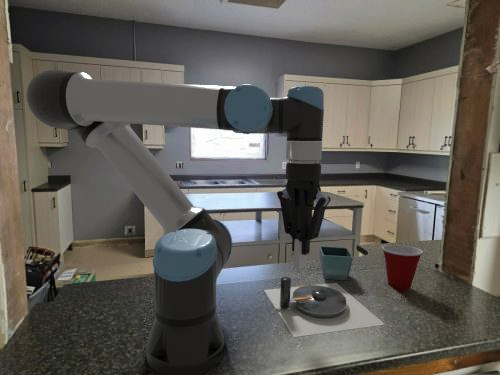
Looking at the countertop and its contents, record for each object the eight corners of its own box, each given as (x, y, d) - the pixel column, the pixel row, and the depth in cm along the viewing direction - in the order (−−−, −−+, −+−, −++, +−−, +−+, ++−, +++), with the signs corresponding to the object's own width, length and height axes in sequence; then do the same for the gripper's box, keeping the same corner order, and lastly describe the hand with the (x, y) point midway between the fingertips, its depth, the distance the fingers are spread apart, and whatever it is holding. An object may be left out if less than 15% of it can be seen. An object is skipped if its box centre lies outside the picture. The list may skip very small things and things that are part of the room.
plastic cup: (405, 278, 101) (408, 241, 99) (427, 295, 90) (431, 253, 89) (371, 279, 100) (374, 242, 98) (390, 296, 89) (394, 254, 87)
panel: (293, 342, 68) (294, 335, 68) (263, 294, 89) (263, 288, 89) (384, 329, 73) (385, 322, 73) (336, 286, 94) (336, 281, 94)
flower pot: (345, 274, 104) (347, 247, 102) (351, 286, 95) (353, 257, 94) (317, 272, 104) (319, 245, 103) (321, 284, 96) (322, 255, 94)
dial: (329, 290, 89) (331, 264, 88) (356, 315, 76) (358, 284, 75) (271, 296, 85) (272, 268, 84) (289, 323, 72) (291, 291, 71)
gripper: (339, 162, 67) (334, 270, 71) (290, 159, 77) (288, 255, 80) (319, 164, 62) (314, 280, 66) (269, 161, 72) (267, 263, 75)
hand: (300, 266), depth 73 cm, fingers closed
